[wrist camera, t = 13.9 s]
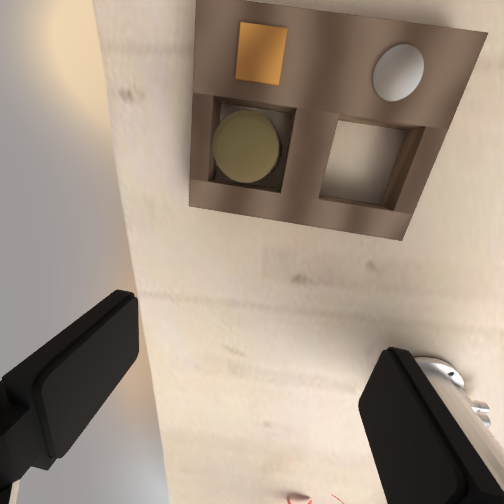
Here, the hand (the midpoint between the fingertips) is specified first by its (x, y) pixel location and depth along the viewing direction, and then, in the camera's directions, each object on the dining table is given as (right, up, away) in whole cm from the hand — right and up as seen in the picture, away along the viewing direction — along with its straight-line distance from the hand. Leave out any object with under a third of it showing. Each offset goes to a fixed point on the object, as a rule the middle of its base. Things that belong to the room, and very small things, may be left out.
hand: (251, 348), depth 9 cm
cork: (0, +15, +18) cm, 24 cm away
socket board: (+6, +16, +17) cm, 25 cm away
